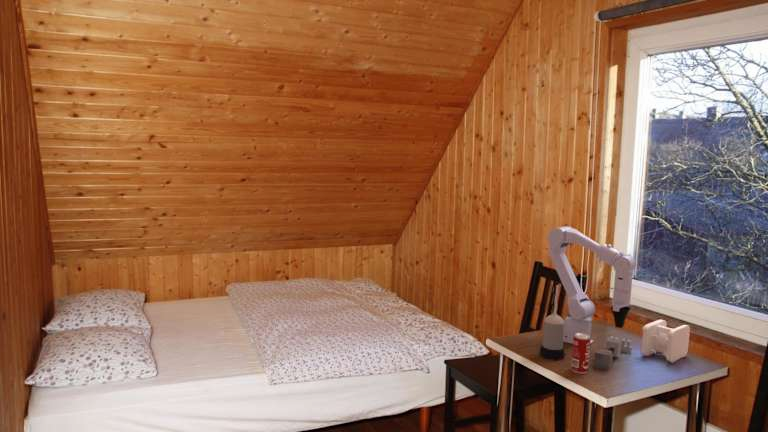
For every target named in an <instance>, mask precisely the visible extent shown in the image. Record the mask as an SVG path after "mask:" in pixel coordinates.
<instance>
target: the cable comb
mask: <svg viewBox="0 0 768 432" xmlns="http://www.w3.org/2000/svg"><path fill="white" fill-rule="evenodd" d="M609 338H613V339H618V340H620V338H619V337H615V338H614V336H613V335H612V336H610V337H609ZM631 342H632V340H631V339H628V340H627V341H626V338H623V339H621V352H622V353H627V354H631V353H632V351H633V346H631ZM621 352H620V353H621Z"/></svg>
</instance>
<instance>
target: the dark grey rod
mask: <svg viewBox="0 0 768 432" xmlns="http://www.w3.org/2000/svg"><path fill="white" fill-rule="evenodd" d="M600 350H601V351H606V349H600ZM613 351H614V348H611V349H610V350H609V351H606V352H610V353H612V352H613Z"/></svg>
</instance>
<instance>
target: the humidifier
mask: <svg viewBox="0 0 768 432" xmlns="http://www.w3.org/2000/svg"><path fill="white" fill-rule="evenodd" d="M554 289H555V290H554ZM559 289H560V288H559V284H557V285H555V288H554V286H553V289H552V291H555V295H554V299H552V300H551V302H553V301H554V310H553V311H552V313H551V314H550V315H548V316H546V317H545V318H544V321H543V333H542V334H543V335H542V344H541V345H540V347H539V356H540V357H541V358H544V359H546V360H551V361H559V360H563V359H564V358H565V356H566V353H565V348H564V346H563V345H564V342H563V336H564V321H565V320H564V319H563V318H562V317H561V316H560V315H558V313H557V311H558V298H559Z"/></svg>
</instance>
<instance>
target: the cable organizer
mask: <svg viewBox="0 0 768 432" xmlns="http://www.w3.org/2000/svg"><path fill="white" fill-rule="evenodd" d="M641 329H642V330H641V331H642V338H641V339H642V340H641V349H640V352H641V355H644V356H646V357H650V356H651V355H653V354H655V355H657V353H658V352H659V353H660V354H661V353H662V354H663V357H666V359H665V360H666V361H667V362H670V363H671V364H673V363H675V362H676V361H677V360H681V359H683V358H684V357H685V356H687V353H688V350H689V343H690V333H691V327H690V325H687V324H683V325H679V326H677V327H675V328H673V327H672V328H671V327H668V326H667V321H666V320H664V319H657V320H654V321H652V322H649V323H647V324H645V325H644V326H643V327H642V328H641ZM657 351H658V352H657ZM682 357H683V358H682ZM680 358H681V359H680Z"/></svg>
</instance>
